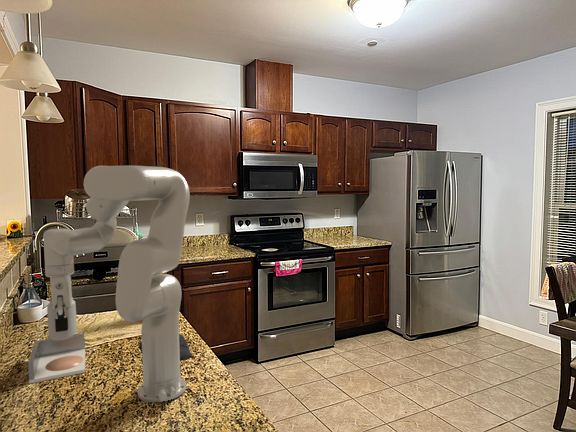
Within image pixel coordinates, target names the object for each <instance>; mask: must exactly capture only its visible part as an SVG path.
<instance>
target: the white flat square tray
mask: <svg viewBox="0 0 576 432" xmlns="http://www.w3.org/2000/svg"><path fill="white" fill-rule="evenodd" d="M85 373H86V348H85V349H81V350H75V351H69V352H64V353H58V354H52V355H47V356H41V357H40V359H39V363H38V367H37V371H36V374H35V378H34V379H33V380H29V379H28V382H29V384H35V382H36V383H40V382H44V381H45V382H46V381H49V380H50V381H51V380H55V379H60V378H65V377H69V376H75V375H79V374H85Z"/></svg>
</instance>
